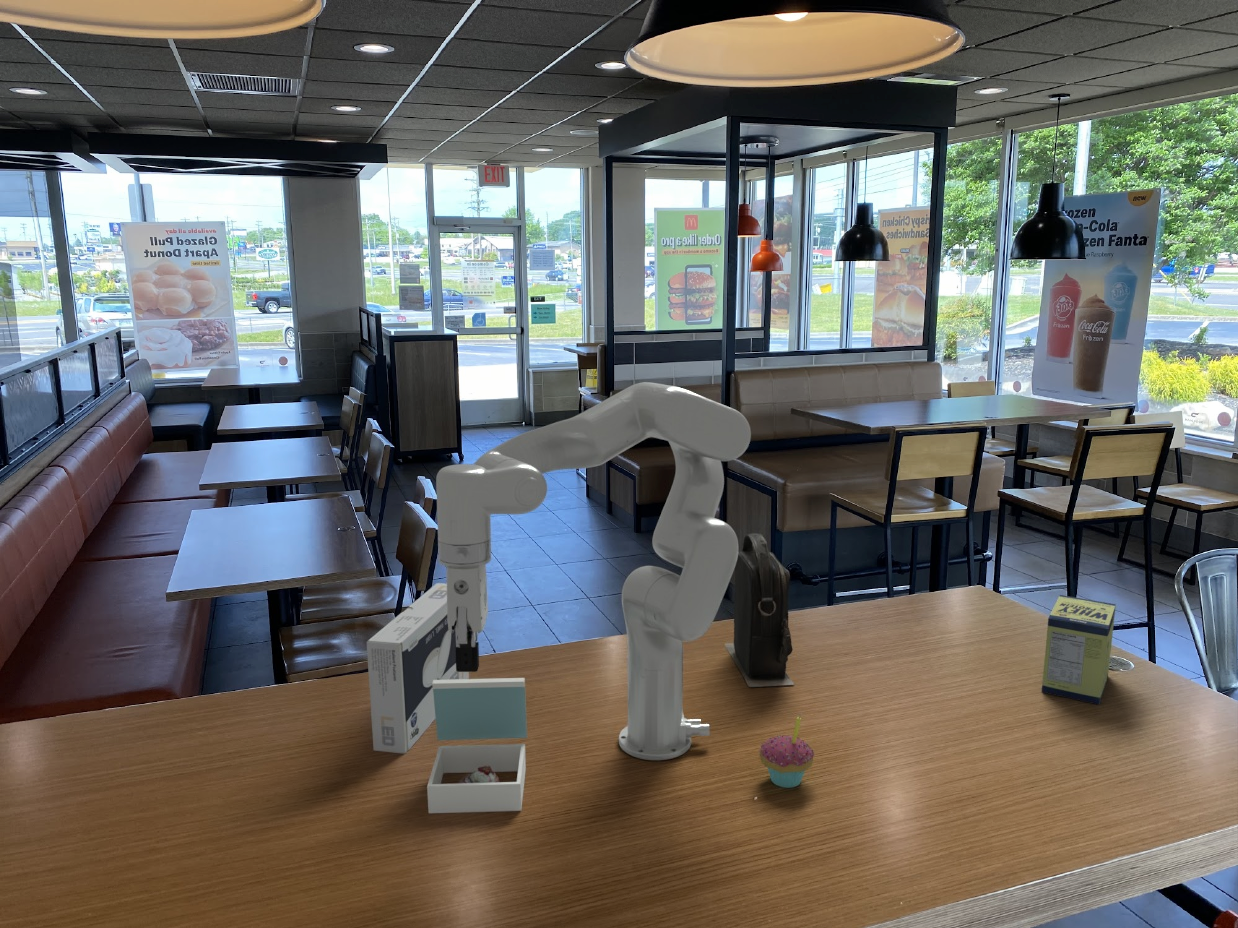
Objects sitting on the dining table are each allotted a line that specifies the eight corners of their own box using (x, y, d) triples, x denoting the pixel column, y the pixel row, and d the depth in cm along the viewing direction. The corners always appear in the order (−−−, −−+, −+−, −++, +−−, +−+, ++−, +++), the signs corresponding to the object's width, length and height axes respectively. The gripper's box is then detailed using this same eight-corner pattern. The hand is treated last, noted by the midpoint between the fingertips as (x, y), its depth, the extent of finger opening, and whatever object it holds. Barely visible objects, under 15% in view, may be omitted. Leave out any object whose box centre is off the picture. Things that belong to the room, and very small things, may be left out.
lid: (526, 738, 150) (527, 734, 151) (524, 681, 146) (524, 677, 147) (437, 740, 150) (438, 736, 151) (432, 683, 146) (433, 679, 147)
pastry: (514, 796, 144) (513, 767, 143) (476, 816, 138) (475, 786, 137) (482, 777, 149) (481, 749, 148) (444, 796, 144) (443, 767, 143)
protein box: (1108, 675, 185) (1116, 602, 182) (1100, 706, 172) (1109, 628, 169) (1052, 664, 191) (1059, 593, 187) (1040, 692, 178) (1047, 617, 174)
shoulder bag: (723, 643, 202) (726, 520, 196) (764, 641, 203) (767, 519, 197) (749, 688, 180) (752, 552, 174) (794, 685, 181) (799, 550, 175)
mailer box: (525, 768, 151) (525, 743, 150) (521, 810, 139) (520, 783, 138) (440, 771, 151) (439, 746, 150) (428, 813, 139) (427, 786, 138)
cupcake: (815, 771, 150) (818, 703, 148) (808, 799, 142) (811, 728, 140) (763, 762, 153) (765, 696, 150) (753, 789, 145) (755, 719, 142)
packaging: (406, 753, 156) (400, 643, 152) (373, 750, 157) (365, 641, 153) (469, 678, 185) (465, 584, 181) (441, 675, 187) (436, 582, 182)
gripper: (485, 566, 125) (488, 691, 129) (495, 536, 140) (497, 649, 143) (430, 566, 125) (434, 691, 128) (446, 536, 139) (449, 649, 143)
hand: (467, 669), depth 136 cm, fingers closed
